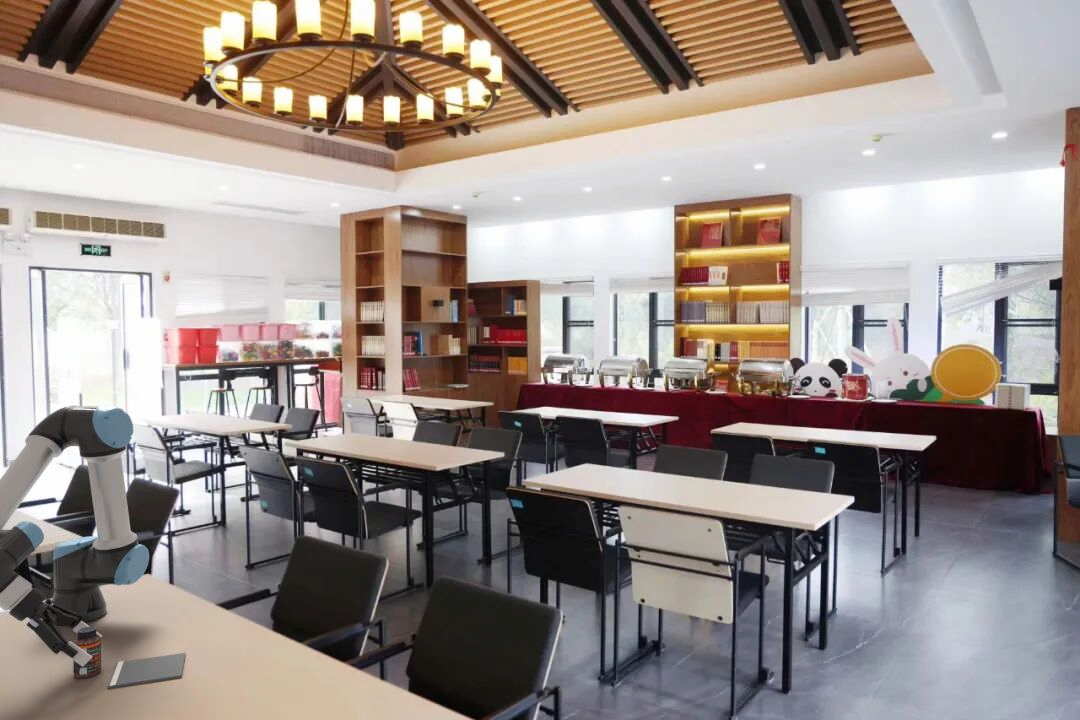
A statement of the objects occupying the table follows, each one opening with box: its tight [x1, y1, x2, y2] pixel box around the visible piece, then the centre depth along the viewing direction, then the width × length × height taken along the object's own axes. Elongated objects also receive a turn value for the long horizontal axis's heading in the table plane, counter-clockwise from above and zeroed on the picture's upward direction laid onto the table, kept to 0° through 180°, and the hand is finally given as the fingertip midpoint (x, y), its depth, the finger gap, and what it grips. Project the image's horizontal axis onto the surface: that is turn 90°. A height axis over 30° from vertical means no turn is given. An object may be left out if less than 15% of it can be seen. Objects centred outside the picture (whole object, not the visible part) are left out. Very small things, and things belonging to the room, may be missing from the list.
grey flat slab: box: [107, 652, 186, 690], centre depth 188 cm, size 14×16×1 cm
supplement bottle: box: [72, 625, 102, 679], centre depth 187 cm, size 6×6×11 cm
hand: (93, 650), depth 187 cm, fingers open, 13 cm apart
